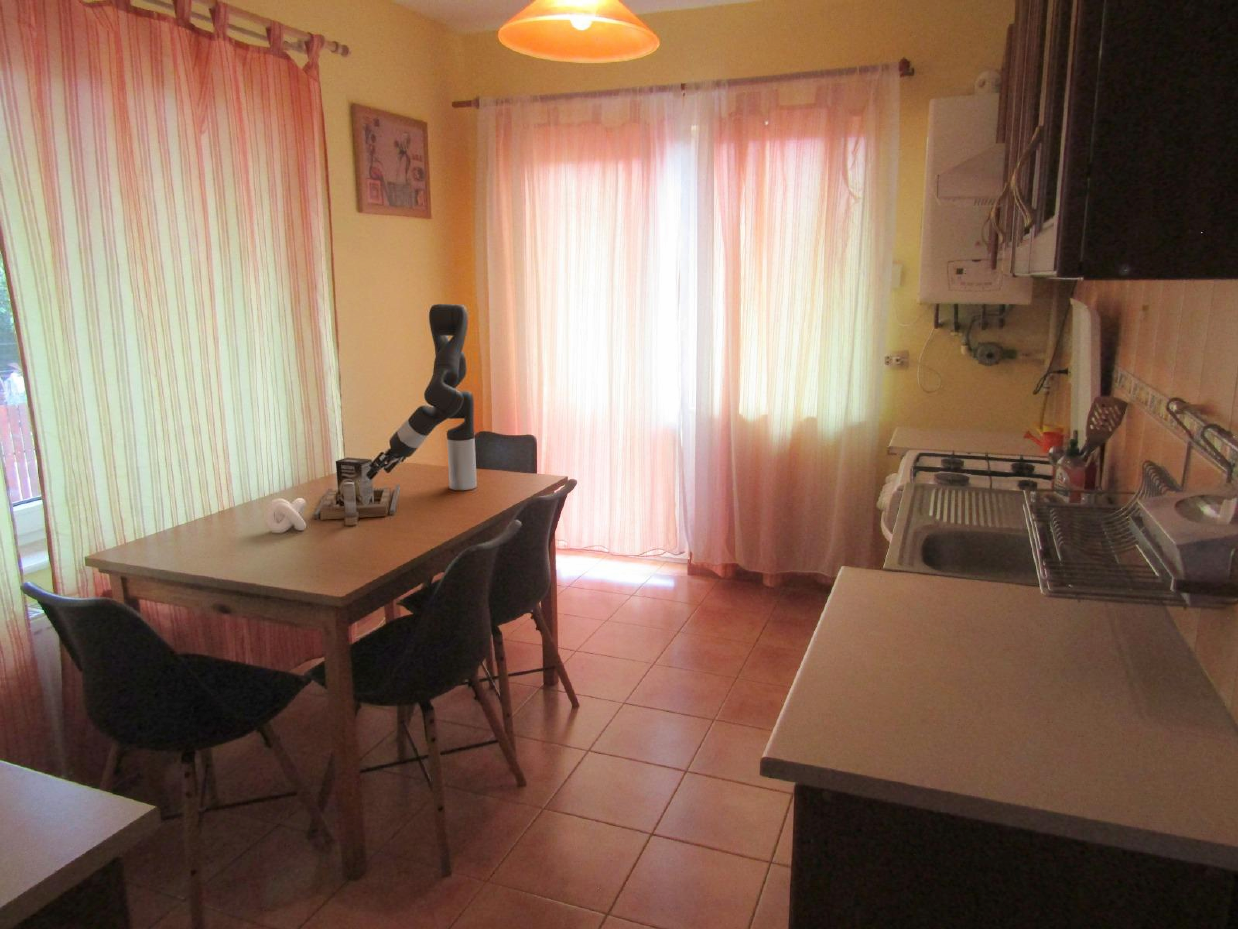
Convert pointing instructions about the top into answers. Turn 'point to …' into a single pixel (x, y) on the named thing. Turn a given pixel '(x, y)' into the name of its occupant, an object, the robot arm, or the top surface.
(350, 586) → the top surface
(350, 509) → the frame
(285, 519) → the white knot sculpture
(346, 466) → the coffee box
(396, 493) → the guide rails
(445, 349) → the robot arm
